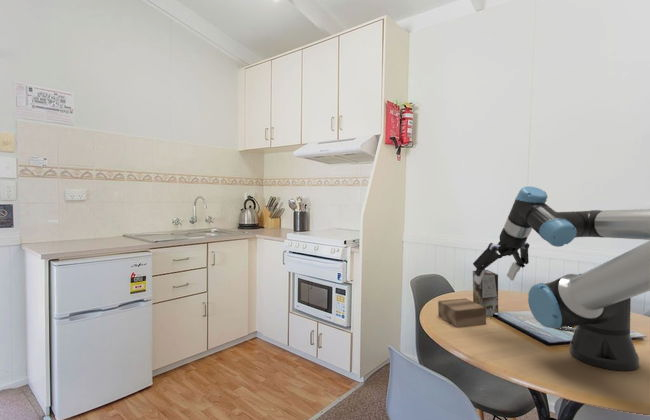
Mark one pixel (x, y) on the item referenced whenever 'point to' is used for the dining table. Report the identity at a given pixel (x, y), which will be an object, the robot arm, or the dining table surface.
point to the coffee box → (487, 292)
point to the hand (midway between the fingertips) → (493, 279)
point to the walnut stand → (462, 312)
